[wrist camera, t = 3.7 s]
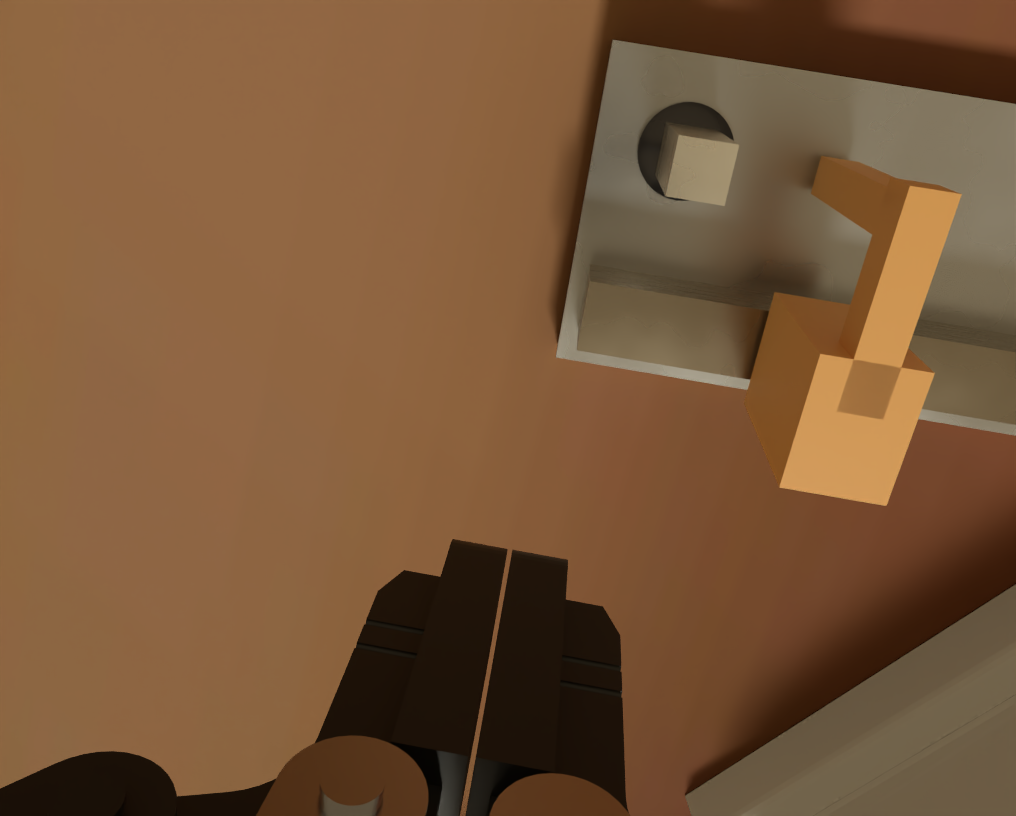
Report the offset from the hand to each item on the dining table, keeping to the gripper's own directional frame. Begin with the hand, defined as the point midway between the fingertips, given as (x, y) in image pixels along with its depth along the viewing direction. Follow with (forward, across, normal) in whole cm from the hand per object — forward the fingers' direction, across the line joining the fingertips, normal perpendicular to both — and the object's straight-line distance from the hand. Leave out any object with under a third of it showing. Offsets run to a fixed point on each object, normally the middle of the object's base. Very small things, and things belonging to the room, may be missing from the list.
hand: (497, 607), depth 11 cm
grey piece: (+17, -10, -3) cm, 20 cm away
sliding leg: (+15, -7, -2) cm, 17 cm away
